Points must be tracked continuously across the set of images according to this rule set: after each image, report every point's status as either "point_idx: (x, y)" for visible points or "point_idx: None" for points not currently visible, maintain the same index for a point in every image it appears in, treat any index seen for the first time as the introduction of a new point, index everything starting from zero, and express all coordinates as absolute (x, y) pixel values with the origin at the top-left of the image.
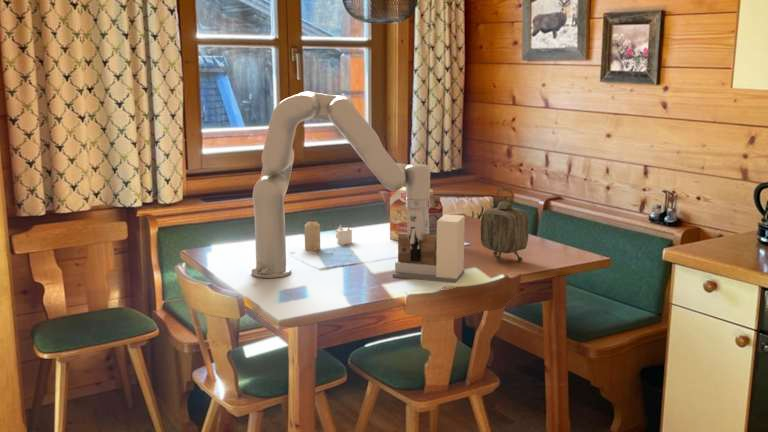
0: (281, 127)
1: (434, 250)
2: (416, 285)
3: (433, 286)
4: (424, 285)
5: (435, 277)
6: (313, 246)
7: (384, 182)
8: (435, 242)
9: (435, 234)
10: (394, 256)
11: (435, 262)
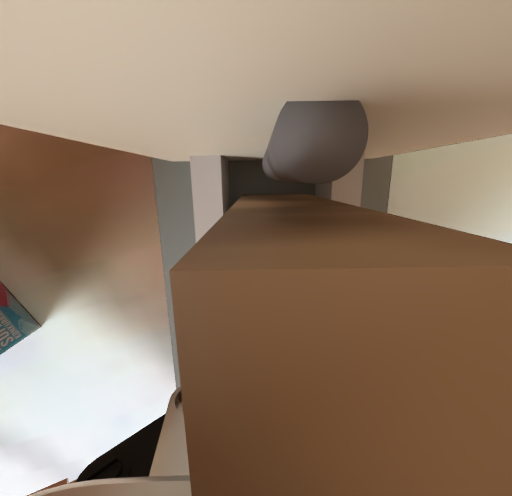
0: None
1: (356, 206)
2: (488, 236)
3: (497, 139)
4: (483, 195)
5: (387, 159)
6: None
7: None
8: (343, 221)
9: (188, 335)
10: (18, 465)
11: (275, 197)
